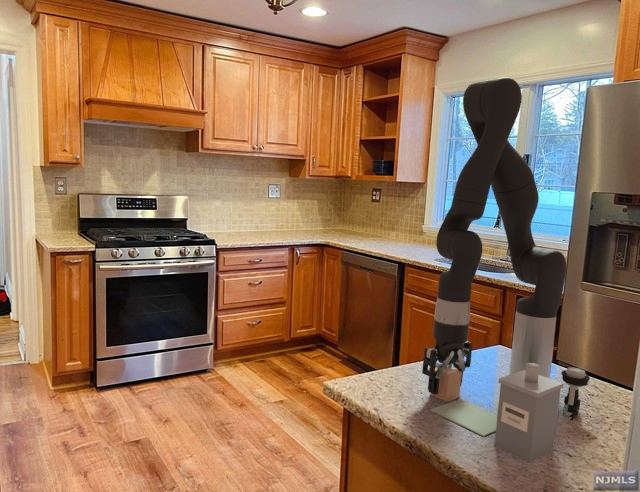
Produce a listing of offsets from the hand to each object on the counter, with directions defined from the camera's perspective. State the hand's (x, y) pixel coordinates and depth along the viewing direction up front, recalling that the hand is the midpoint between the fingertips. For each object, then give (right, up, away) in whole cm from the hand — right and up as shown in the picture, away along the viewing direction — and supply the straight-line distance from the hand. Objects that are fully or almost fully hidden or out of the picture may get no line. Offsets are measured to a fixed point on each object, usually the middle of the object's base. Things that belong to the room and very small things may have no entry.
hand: (445, 389), depth 117 cm
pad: (+3, -3, -10) cm, 11 cm away
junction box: (+9, -5, -21) cm, 24 cm away
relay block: (0, -1, 0) cm, 2 cm away
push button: (+25, -4, -7) cm, 26 cm away
